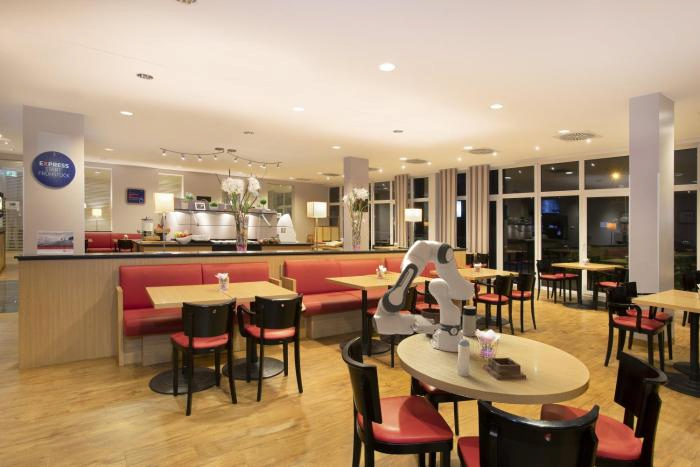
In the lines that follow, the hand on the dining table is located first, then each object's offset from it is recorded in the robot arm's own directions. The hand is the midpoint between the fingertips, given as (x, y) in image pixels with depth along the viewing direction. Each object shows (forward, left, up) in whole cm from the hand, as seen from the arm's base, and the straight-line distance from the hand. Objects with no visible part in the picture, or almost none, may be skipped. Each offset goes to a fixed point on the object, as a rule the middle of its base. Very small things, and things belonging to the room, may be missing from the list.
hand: (437, 323), depth 180 cm
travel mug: (-62, +43, -24) cm, 79 cm away
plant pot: (-62, +19, -24) cm, 69 cm away
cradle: (0, +33, -24) cm, 41 cm away
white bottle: (0, +13, -24) cm, 27 cm away
